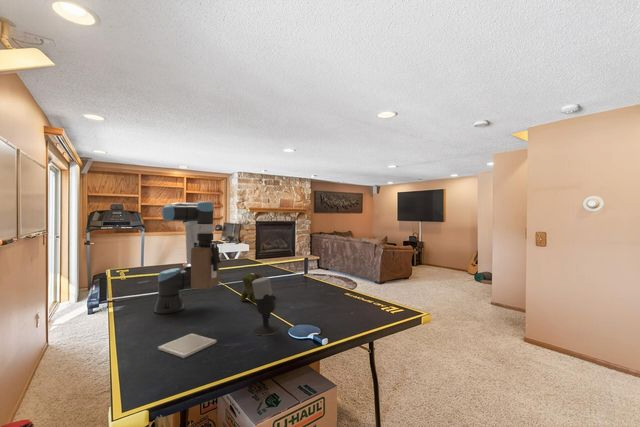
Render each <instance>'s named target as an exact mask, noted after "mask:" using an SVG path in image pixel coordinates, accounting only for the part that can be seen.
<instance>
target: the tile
mask: <svg viewBox="0 0 640 427" xmlns="http://www.w3.org/2000/svg"><path fill="white" fill-rule="evenodd" d="M216 343H217V339H214V338H209V337H207V336H203V335H200V334H196V333H192V332H191V333H189V334H186V335H184V336H182V337H179V338H177V339H175V340H172V341H169V342H167V343H165V344H162V345H159V346H157V350H159V351H163V352H164V353H168V354H171V355H174V356H176V357H180V358H182V359H185V358H186V357H187V358H188V357H190V355H191V356H192V355H194V354H195V353H197V352H199V351H202V350H205V349H206V348H208V347H211V346H212V345H214V344H216Z"/></svg>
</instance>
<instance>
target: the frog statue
mask: <svg viewBox="0 0 640 427" xmlns="http://www.w3.org/2000/svg"><path fill="white" fill-rule="evenodd" d="M263 277H264V276H263V275H262V274H259V273H257V272H252V273H246V274H244V276H242V277H241V280H242V284H243V289H242V292H241V296H240V301H241V302H242V303H243V302H244V301H245V300H246V299H247V298H248V296H249V297H251V299H252V300H251V301H252V302H253V303H256V300H255V295H254V290H253V285H252V282H253V281H254V280H256V279H259V278H263Z"/></svg>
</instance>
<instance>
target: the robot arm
mask: <svg viewBox="0 0 640 427" xmlns="http://www.w3.org/2000/svg"><path fill="white" fill-rule="evenodd" d="M214 210H215V209H214V202H212V201H198V202H171V203H167V204H165V205H163V206H162V207H161V215H162V216H161V217H162V219H163V221H169V222H173V221H175V222H182V225H183V226H184V227H185V250H186V252H185V254H186V265H185V266H184V267H183V270H181V268H178V267H177V268H174V267H173V268H170V269H166V270H162V271H160V272H159V273H158V276H157V277H158V280H157V282H158V284H157V285H158V288H157V294H158V295H157V296H158V297H157V299H156V300H157V301H156V303H155V305H154V312H156V314H159V315H160V314H166V315H167V314H172V313H173V314H174V313H177V312H179V311H182V310H183V309H185V306H184V302H183V299H182V295H181V291H186V290H187V291H188V290H194V289H193V288H191V248H194V247H205V248H206V247H211V249H212V253H213V256H212V257H211V262H212V264H211V278H215V277H217V264H218V263H219V264H220V263H221V257H220V253H219V254H218V250H217V246H218V244H217V243H216V242H215V243H213V241H214V233H213V232H214ZM217 260H218V261H217ZM214 261H215V262H214Z"/></svg>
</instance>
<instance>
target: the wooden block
mask: <svg viewBox="0 0 640 427" xmlns="http://www.w3.org/2000/svg"><path fill="white" fill-rule="evenodd" d="M217 250H218V254H219V255H220V247H219V246H218V245H217ZM212 256H213V253H212V249H211V247H206V248H205V247H194V248H191V288H193V289H192V290H195V289H196V290H210V289H212V288H215V287H217V286H219V283H220V263H218V264H217V277H215V278H211V264H212V262H211V257H212ZM217 261H218V260H217ZM214 262H215V261H214Z"/></svg>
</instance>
